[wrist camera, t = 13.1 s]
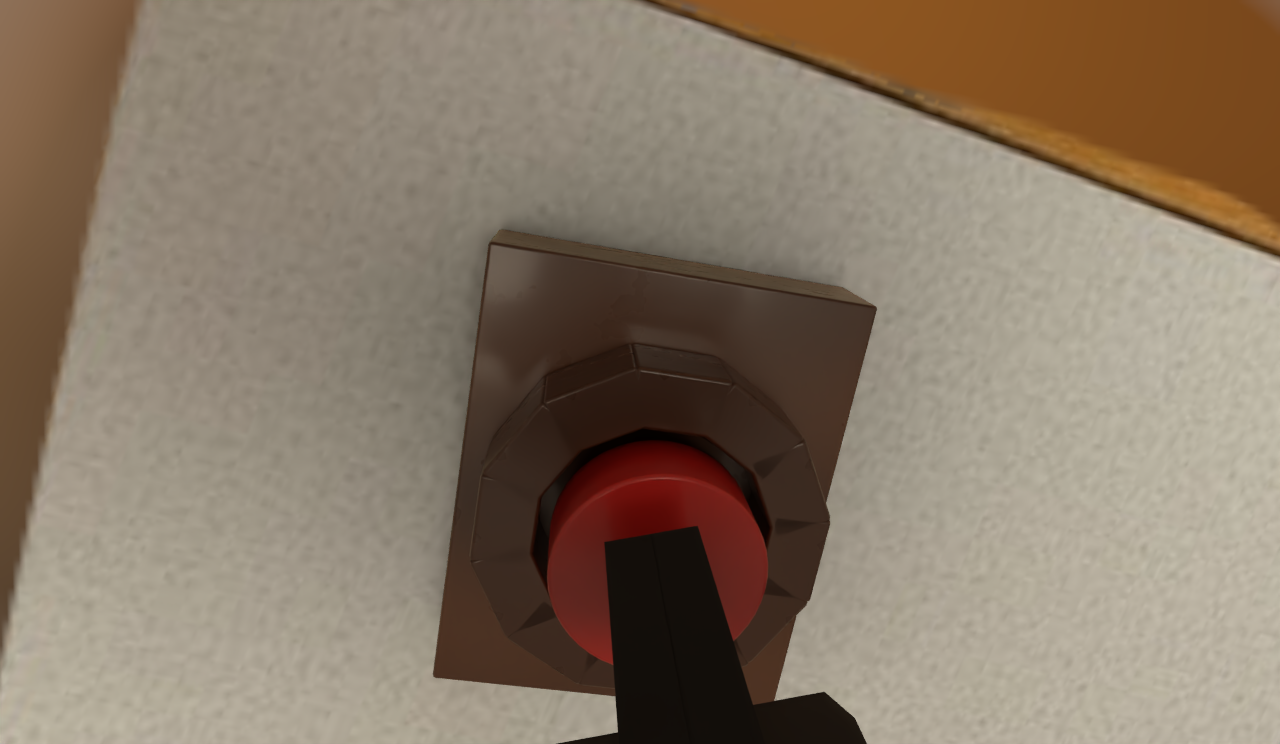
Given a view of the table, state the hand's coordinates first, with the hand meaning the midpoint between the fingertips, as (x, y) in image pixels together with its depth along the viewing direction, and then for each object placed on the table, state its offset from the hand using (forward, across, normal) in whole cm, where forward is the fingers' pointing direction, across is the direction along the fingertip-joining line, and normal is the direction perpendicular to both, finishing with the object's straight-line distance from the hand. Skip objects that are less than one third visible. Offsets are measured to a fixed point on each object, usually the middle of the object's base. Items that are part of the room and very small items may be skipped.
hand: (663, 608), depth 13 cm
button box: (+7, 0, 0) cm, 7 cm away
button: (+3, 0, 0) cm, 3 cm away
